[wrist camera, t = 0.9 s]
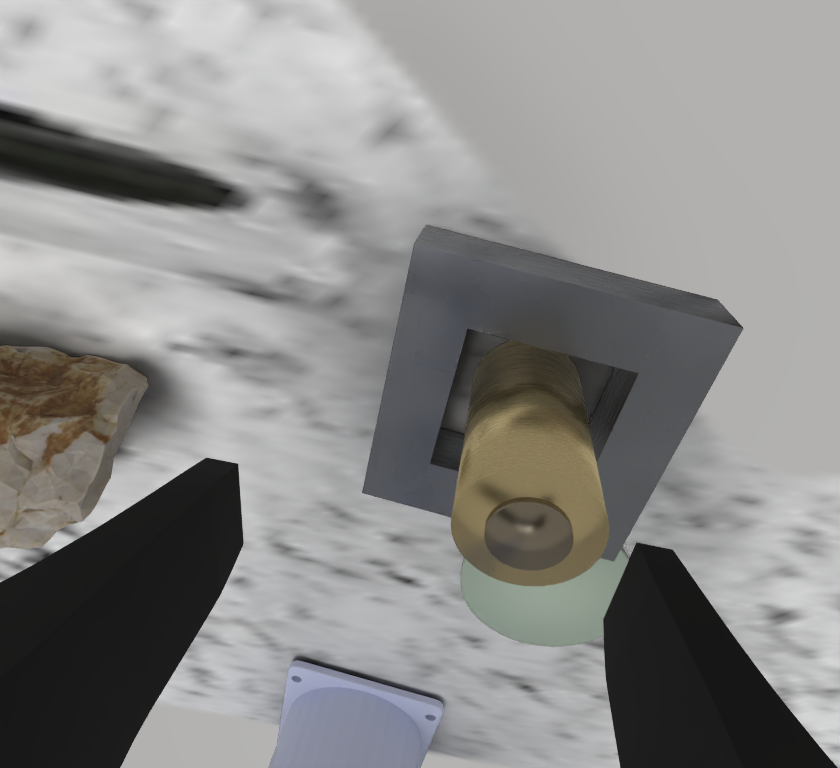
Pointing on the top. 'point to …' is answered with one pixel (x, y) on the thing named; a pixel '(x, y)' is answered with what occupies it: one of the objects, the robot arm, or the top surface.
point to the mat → (545, 604)
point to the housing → (554, 330)
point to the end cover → (528, 471)
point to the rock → (58, 437)
